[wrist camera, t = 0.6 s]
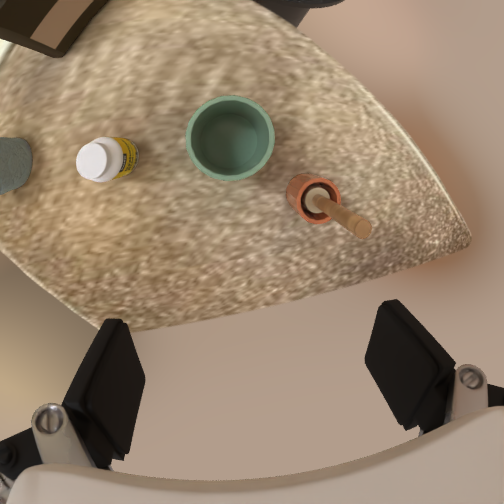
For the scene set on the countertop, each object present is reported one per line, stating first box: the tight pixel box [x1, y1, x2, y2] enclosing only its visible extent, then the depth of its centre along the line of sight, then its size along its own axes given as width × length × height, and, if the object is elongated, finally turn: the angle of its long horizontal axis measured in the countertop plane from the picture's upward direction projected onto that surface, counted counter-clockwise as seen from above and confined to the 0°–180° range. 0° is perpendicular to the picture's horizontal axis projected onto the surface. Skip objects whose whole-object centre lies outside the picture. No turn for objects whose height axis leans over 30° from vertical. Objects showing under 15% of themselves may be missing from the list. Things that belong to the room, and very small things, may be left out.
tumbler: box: [185, 95, 275, 181], centre depth 28 cm, size 8×8×11 cm
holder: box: [286, 173, 341, 224], centre depth 34 cm, size 6×6×6 cm
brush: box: [301, 184, 372, 239], centre depth 29 cm, size 3×3×17 cm
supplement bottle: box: [76, 137, 139, 182], centre depth 28 cm, size 5×5×10 cm
